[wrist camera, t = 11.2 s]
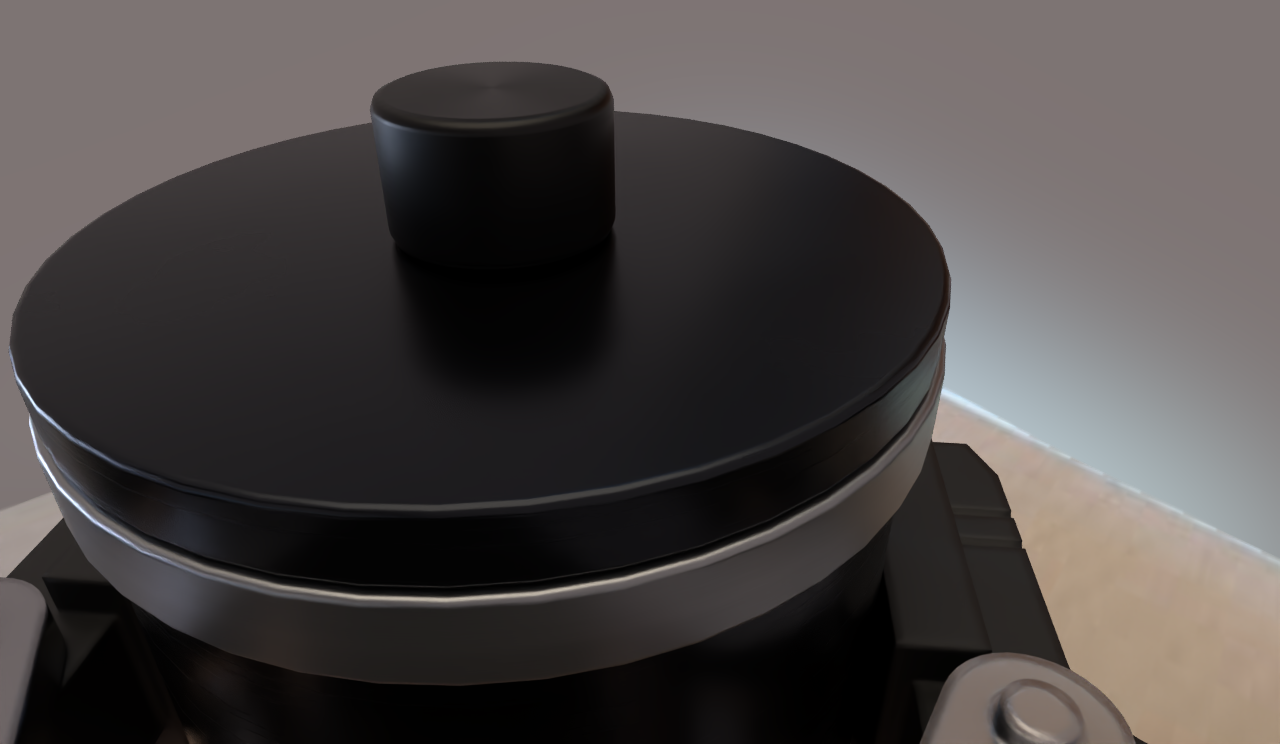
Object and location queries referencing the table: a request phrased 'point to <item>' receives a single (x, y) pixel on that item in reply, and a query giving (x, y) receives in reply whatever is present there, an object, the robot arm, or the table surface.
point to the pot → (495, 421)
